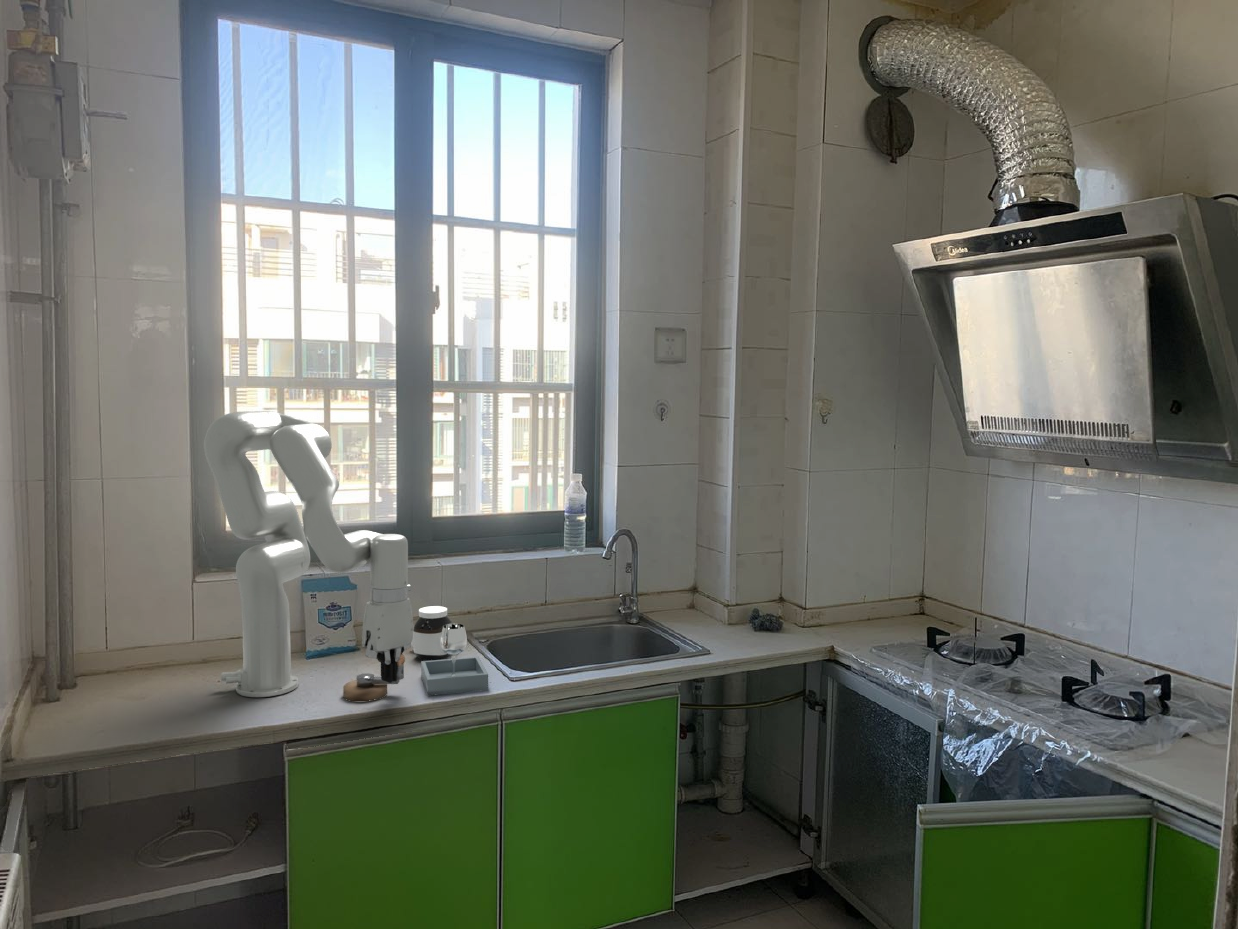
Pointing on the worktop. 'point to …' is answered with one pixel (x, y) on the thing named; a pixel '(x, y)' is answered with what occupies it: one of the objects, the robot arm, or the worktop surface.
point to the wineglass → (453, 641)
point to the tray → (468, 678)
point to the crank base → (363, 691)
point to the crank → (370, 680)
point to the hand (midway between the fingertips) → (388, 680)
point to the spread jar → (430, 633)
